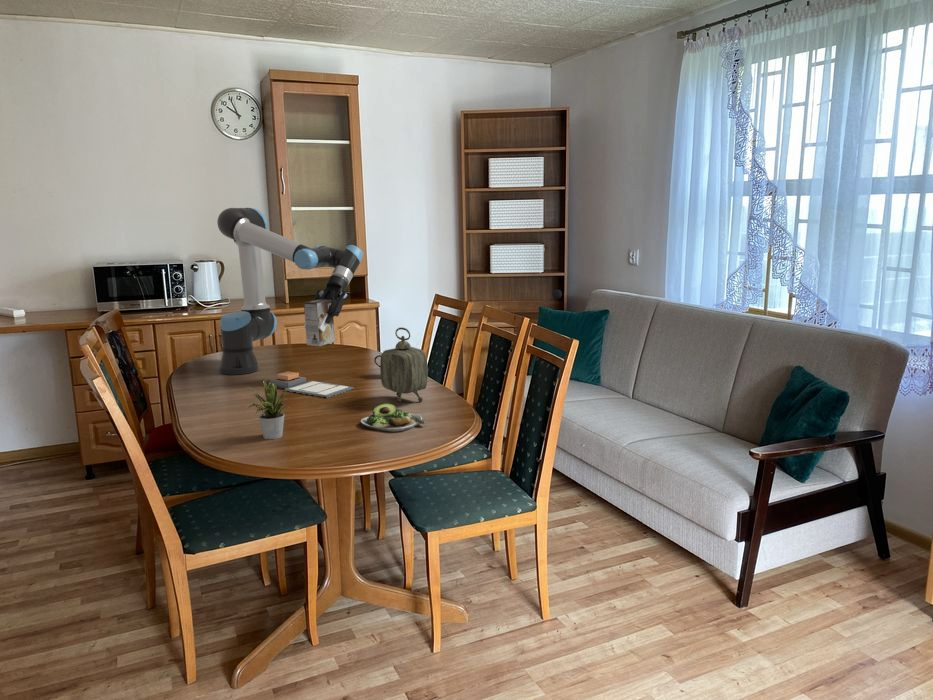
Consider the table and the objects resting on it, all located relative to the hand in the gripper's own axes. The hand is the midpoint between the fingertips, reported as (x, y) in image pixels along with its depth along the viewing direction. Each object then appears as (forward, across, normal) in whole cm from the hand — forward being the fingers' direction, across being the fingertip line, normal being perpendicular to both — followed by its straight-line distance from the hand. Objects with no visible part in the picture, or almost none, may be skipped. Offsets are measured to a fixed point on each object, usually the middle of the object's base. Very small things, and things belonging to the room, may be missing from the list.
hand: (313, 329), depth 252 cm
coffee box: (+2, 0, -7) cm, 7 cm away
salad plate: (+34, -53, +5) cm, 64 cm away
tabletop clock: (+19, -43, -11) cm, 48 cm away
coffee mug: (-1, -18, -31) cm, 36 cm away
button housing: (+20, +7, -9) cm, 23 cm away
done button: (+18, +7, -7) cm, 20 cm away
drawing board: (+20, -8, -9) cm, 23 cm away
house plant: (+52, -30, +24) cm, 65 cm away
